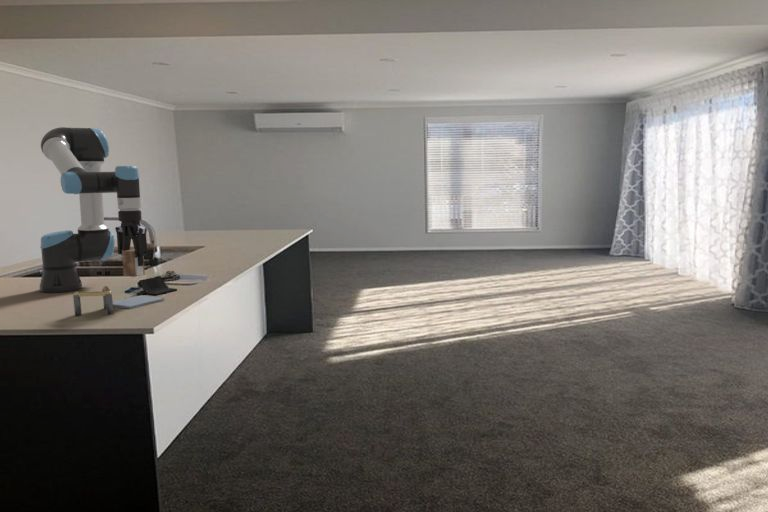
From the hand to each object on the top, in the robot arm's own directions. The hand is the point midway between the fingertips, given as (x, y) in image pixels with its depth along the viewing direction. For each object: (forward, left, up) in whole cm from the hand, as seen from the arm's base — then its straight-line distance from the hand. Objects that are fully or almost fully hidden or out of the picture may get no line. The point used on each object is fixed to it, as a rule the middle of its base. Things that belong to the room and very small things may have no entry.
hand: (134, 274), depth 214 cm
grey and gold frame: (+2, -16, -11) cm, 19 cm away
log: (-27, +39, -11) cm, 49 cm away
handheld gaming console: (-8, +18, -11) cm, 22 cm away
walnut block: (0, 0, 0) cm, 0 cm away
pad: (0, 0, -11) cm, 11 cm away
